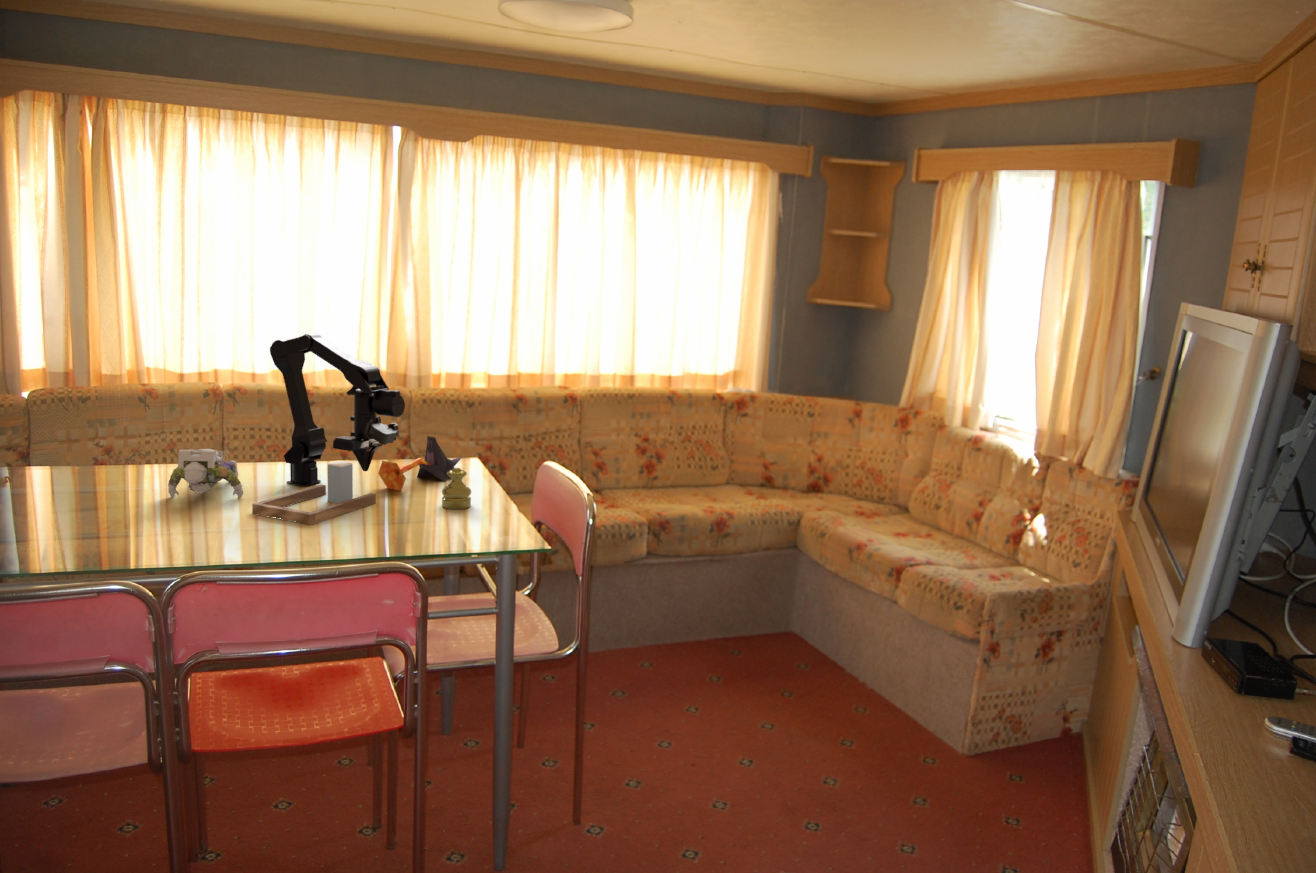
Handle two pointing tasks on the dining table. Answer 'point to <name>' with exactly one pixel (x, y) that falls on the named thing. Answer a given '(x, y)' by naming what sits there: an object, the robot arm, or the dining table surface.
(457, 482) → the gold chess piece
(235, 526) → the dining table surface
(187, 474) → the toy
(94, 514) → the dining table surface
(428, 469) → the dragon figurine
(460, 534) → the dining table surface
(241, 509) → the dining table surface
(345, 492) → the long block
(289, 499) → the rail pen
